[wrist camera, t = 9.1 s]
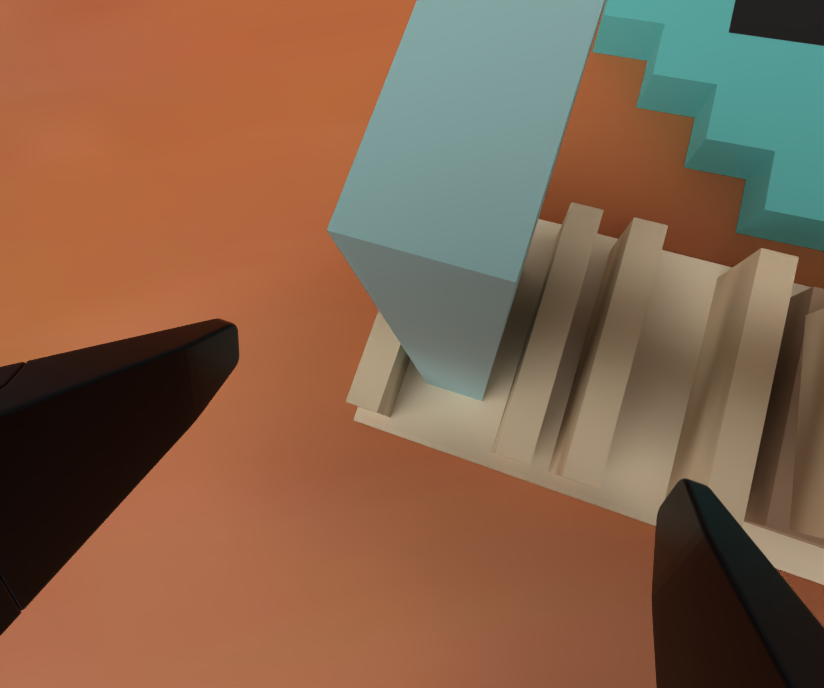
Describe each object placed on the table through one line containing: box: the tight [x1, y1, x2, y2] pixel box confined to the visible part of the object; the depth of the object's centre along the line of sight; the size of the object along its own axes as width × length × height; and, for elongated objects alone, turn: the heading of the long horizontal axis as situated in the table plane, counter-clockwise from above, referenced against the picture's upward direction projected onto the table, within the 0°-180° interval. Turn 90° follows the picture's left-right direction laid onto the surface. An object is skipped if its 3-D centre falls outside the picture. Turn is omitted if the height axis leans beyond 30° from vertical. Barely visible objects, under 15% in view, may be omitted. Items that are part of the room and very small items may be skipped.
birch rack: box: [346, 202, 824, 585], centre depth 15 cm, size 9×18×4 cm, turn 71°
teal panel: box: [327, 0, 605, 401], centre depth 11 cm, size 5×2×12 cm, turn 161°
